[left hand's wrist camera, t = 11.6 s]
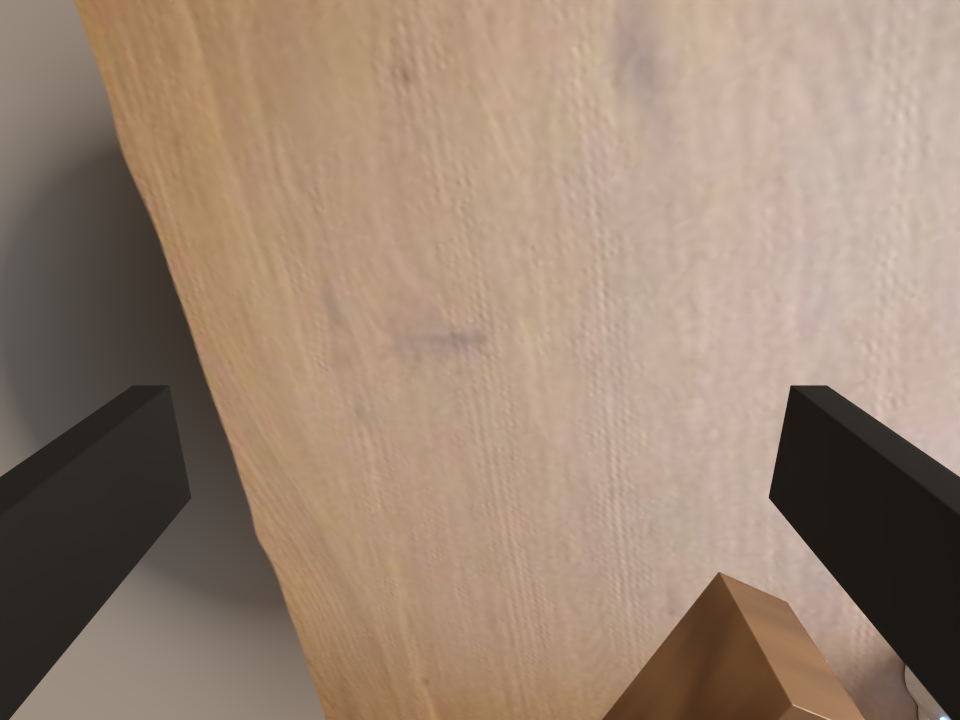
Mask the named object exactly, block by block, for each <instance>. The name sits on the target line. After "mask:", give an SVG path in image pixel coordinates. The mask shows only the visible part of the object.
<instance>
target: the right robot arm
mask: <svg viewBox="0 0 960 720" xmlns="http://www.w3.org/2000/svg"><path fill="white" fill-rule="evenodd" d="M905 684H906V687H907V689H908V691H909V693H910V695H911V696H912V697H913V699H914V700H915V701H916V703H917V705H918V718H919V720H951V719H950V718H949V717H948V715H947V714H946V713H945V712H944V710H943V709H942V708H941V707H940V706H939V704H938V703H937V702H936V701H935V700H934V698H933V697H932V696H931V695H930V693H929V692H928V691H927V690H926V689H925V687H924V686H923V685H922V684H921V682H920V681H919V680H918V679H917V678H916V676H915V675H914V674H913V673H912V672H911V670H910V669H909V668H908V667H907V665H906V666H905Z"/></svg>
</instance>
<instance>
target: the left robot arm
mask: <svg viewBox="0 0 960 720" xmlns="http://www.w3.org/2000/svg"><path fill="white" fill-rule="evenodd" d="M190 499H191V494H190V489H189V484H188V479H187V473H186V469H185V463H184V458H183V453H182V448H181V443H180V438H179V433H178V428H177V423H176V417H175V412H174V408H173V402H172V397H171V392H170V387H169V386H132V387H130V388H129V389H127V390H126V391H124V392H123V393H121V394H120V395H119V396H117V397H116V398H114V399H113V400H111V401H110V402H108V403H107V404H106V405H104V406H103V407H101V408H100V409H98V410H97V411H95V412H94V413H92V414H91V415H90V416H88V417H87V418H85V419H84V420H82V421H81V422H79V423H78V424H76V425H75V426H74V427H72V428H71V429H69V430H68V431H66V432H65V433H63V434H62V435H61V436H59V437H58V438H56V439H55V440H53V441H52V442H50V443H49V444H48V445H46V446H45V447H43V448H42V449H40V450H39V451H37V452H36V453H35V454H33V455H32V456H30V457H29V458H27V459H26V460H24V461H23V462H21V463H20V464H19V465H17V466H16V467H14V468H13V469H11V470H10V471H8V472H7V473H5V474H4V475H3V476H1V477H0V720H9V719H10V718H11V717H12V715H13V714H14V713H15V712H16V710H17V709H18V708H19V707H20V706H21V704H22V703H23V702H24V701H25V699H26V698H27V697H28V696H29V695H30V693H31V692H32V691H33V690H34V689H35V687H36V686H37V685H38V684H39V682H40V681H41V680H42V679H43V678H44V676H45V675H46V674H47V673H48V672H49V670H50V669H51V668H52V667H53V665H54V664H55V663H56V662H57V660H58V659H59V658H60V657H61V656H62V654H63V653H64V652H65V651H66V650H67V648H68V647H69V646H70V645H71V644H72V642H73V641H74V640H75V639H76V637H77V636H78V635H79V634H80V633H81V631H82V630H83V629H84V628H85V626H86V625H87V624H88V623H89V622H90V620H91V619H92V618H93V617H94V616H95V614H96V613H97V612H98V611H99V609H100V608H101V607H102V606H103V605H104V603H105V602H106V601H107V600H108V598H109V597H110V596H111V595H112V594H113V592H114V591H115V590H116V589H117V587H118V586H119V585H120V584H121V583H122V581H123V580H124V579H125V578H126V577H127V575H128V574H129V573H130V572H131V570H132V569H133V568H134V567H135V566H136V564H137V563H138V562H139V561H140V559H141V558H142V557H143V556H144V555H145V553H146V552H147V551H148V550H149V548H150V547H151V546H152V545H153V544H154V542H155V541H156V540H157V539H158V538H159V536H160V535H161V534H162V533H163V531H164V530H165V529H166V528H167V527H168V525H169V524H170V523H171V522H172V520H173V519H174V518H175V517H176V516H177V514H178V513H179V512H180V511H181V510H182V508H183V507H184V506H185V505H186V503H187V502H188V501H189V500H190ZM769 499H770V500H771V501H772V502H773V504H774V505H775V506H776V507H777V508H778V510H779V511H780V512H781V513H782V514H783V516H784V517H785V518H786V519H787V521H788V522H789V523H790V524H791V525H792V527H793V528H794V529H795V530H796V532H797V533H798V534H799V535H800V536H801V538H802V539H803V540H804V541H805V542H806V544H807V545H808V546H809V547H810V549H811V550H812V551H813V552H814V553H815V555H816V556H817V557H818V558H819V560H820V561H821V562H822V563H823V564H824V566H825V567H826V568H827V569H828V570H829V572H830V573H831V574H832V575H833V577H834V578H835V579H836V580H837V581H838V583H839V584H840V585H841V586H842V588H843V589H844V590H845V591H846V592H847V594H848V595H849V596H850V597H851V598H852V600H853V601H854V602H855V603H856V605H857V606H858V607H859V608H860V609H861V611H862V612H863V613H864V614H865V616H866V617H867V618H868V619H869V620H870V622H871V623H872V624H873V625H874V626H875V628H876V629H877V630H878V631H879V633H880V634H881V635H882V636H883V637H884V639H885V640H886V641H887V642H888V644H889V645H890V646H891V647H892V648H893V650H894V651H895V652H896V653H897V654H898V656H899V657H900V658H901V659H902V661H903V662H904V663H905V664H906V665H907V667H908V668H909V669H910V670H911V672H912V673H913V674H914V675H915V676H916V678H917V679H918V680H919V681H920V682H921V684H922V685H923V686H924V687H925V689H926V690H927V691H928V692H929V693H930V695H931V696H932V697H933V698H934V700H935V701H936V702H937V703H938V704H939V706H940V707H941V708H942V709H943V710H944V712H945V713H946V714H947V715H948V717H949V718H950V719H951V720H960V477H959V476H957V475H956V474H955V473H953V472H952V471H950V470H949V469H947V468H946V467H944V466H943V465H941V464H940V463H939V462H937V461H936V460H934V459H933V458H931V457H930V456H928V455H927V454H926V453H924V452H923V451H921V450H920V449H918V448H917V447H915V446H914V445H912V444H911V443H910V442H908V441H907V440H905V439H904V438H902V437H901V436H899V435H898V434H897V433H895V432H894V431H892V430H891V429H889V428H888V427H886V426H885V425H883V424H882V423H881V422H879V421H878V420H876V419H875V418H873V417H872V416H870V415H869V414H868V413H866V412H865V411H863V410H862V409H860V408H859V407H857V406H856V405H854V404H853V403H852V402H850V401H849V400H847V399H846V398H844V397H843V396H841V395H840V394H839V393H837V392H836V391H834V390H833V389H831V388H830V387H828V386H791V387H790V392H789V397H788V402H787V407H786V412H785V417H784V423H783V428H782V433H781V438H780V443H779V448H778V453H777V458H776V463H775V468H774V473H773V479H772V484H771V489H770V494H769Z"/></svg>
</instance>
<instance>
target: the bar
mask: <svg viewBox="0 0 960 720" xmlns="http://www.w3.org/2000/svg"><path fill="white" fill-rule="evenodd" d="M602 720H865V719H864V717H863V716H862V714H861V713H860V711H859V710H858V708H857V707H856V705H855V704H854V702H853V701H852V699H851V698H850V696H849V695H848V693H847V692H846V690H845V689H844V687H843V686H842V684H841V683H840V681H839V680H838V678H837V677H836V675H835V674H834V672H833V671H832V669H831V668H830V666H829V665H828V663H827V662H826V660H825V659H824V657H823V656H822V654H821V652H820V651H819V649H818V648H817V646H816V645H815V643H814V642H813V640H812V639H811V637H810V636H809V634H808V633H807V631H806V630H805V628H804V627H803V625H802V624H801V622H800V621H799V619H798V618H797V616H796V615H795V613H794V612H793V610H792V609H791V607H790V606H789V604H788V603H787V602H785V601H783V600H781V599H779V598H776V597H774V596H772V595H770V594H767V593H765V592H763V591H761V590H758V589H756V588H754V587H752V586H749V585H747V584H745V583H743V582H740V581H738V580H736V579H734V578H731V577H729V576H727V575H725V574H722V573H720V572H719V573H718V574H717V575H716V576H715V577H714V579H713V580H712V581H711V582H710V584H709V585H708V586H707V588H706V589H705V590H704V591H703V593H702V594H701V595H700V596H699V598H698V599H697V600H696V601H695V603H694V604H693V605H692V607H691V608H690V609H689V610H688V612H687V613H686V614H685V615H684V617H683V618H682V619H681V620H680V622H679V623H678V624H677V626H676V627H675V628H674V629H673V631H672V632H671V633H670V634H669V636H668V637H667V638H666V639H665V641H664V642H663V643H662V645H661V646H660V647H659V648H658V650H657V651H656V652H655V653H654V655H653V656H652V657H651V659H650V660H649V661H648V662H647V664H646V665H645V666H644V667H643V669H642V670H641V671H640V672H639V674H638V675H637V676H636V678H635V679H634V680H633V681H632V683H631V684H630V685H629V686H628V688H627V689H626V690H625V691H624V693H623V694H622V695H621V697H620V698H619V699H618V700H617V702H616V703H615V704H614V705H613V707H612V708H611V709H610V710H609V712H608V713H607V714H606V716H605V717H604V718H603V719H602Z"/></svg>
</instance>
